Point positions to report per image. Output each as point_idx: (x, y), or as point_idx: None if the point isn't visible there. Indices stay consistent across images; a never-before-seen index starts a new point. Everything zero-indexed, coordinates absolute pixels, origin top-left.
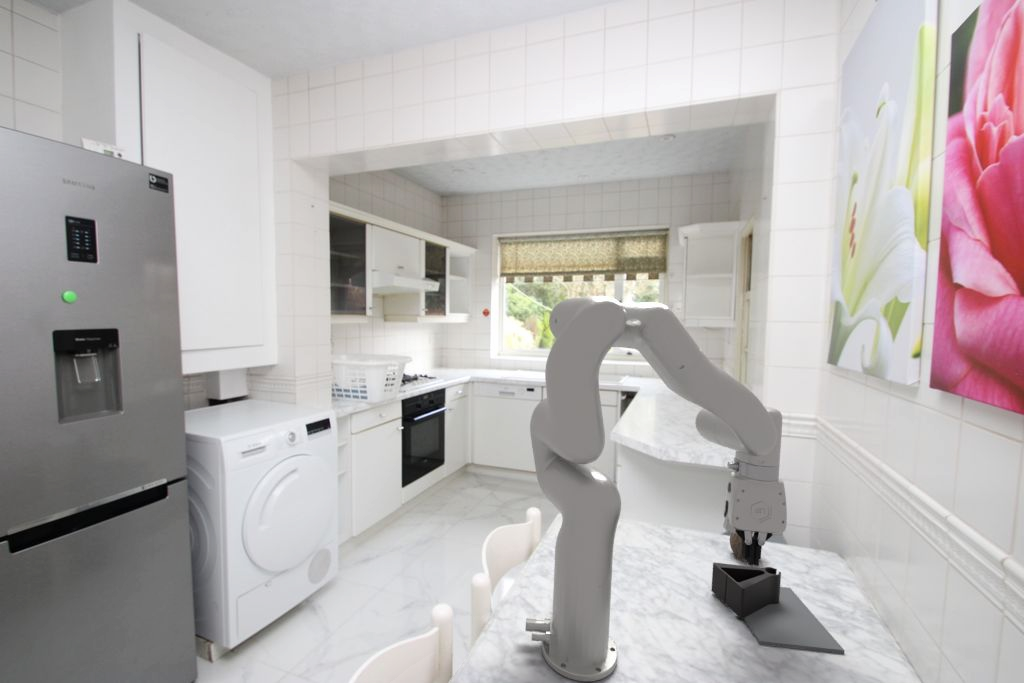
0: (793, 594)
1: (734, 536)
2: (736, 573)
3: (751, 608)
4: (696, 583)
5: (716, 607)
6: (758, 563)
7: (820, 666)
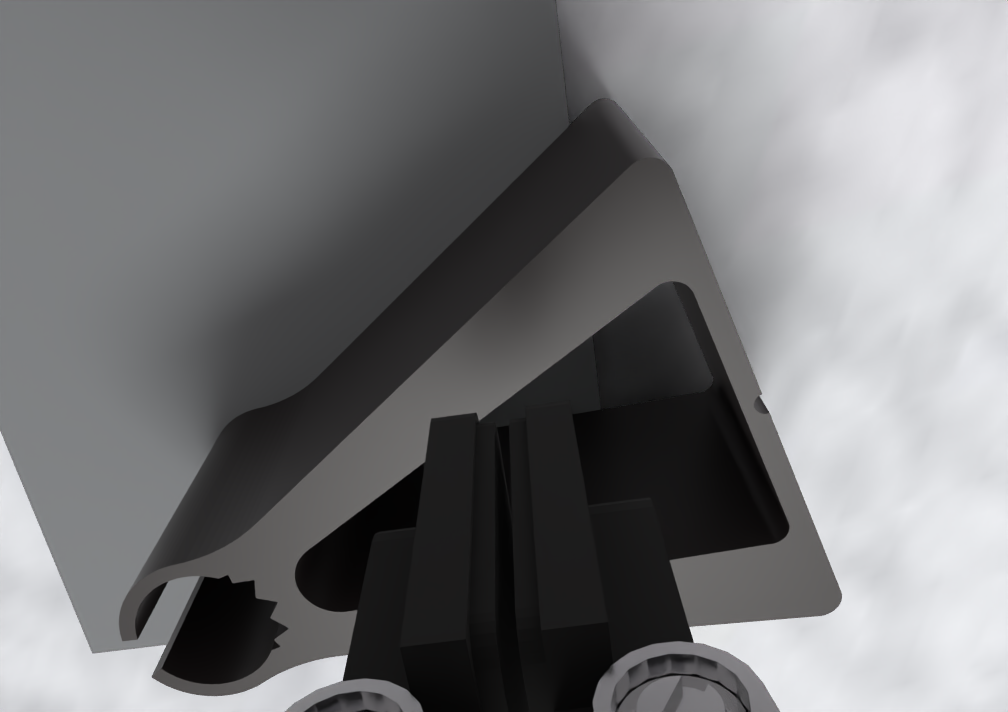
0: (80, 577)
1: None
2: None
3: (498, 210)
4: (829, 525)
5: (763, 242)
6: (433, 429)
7: None
